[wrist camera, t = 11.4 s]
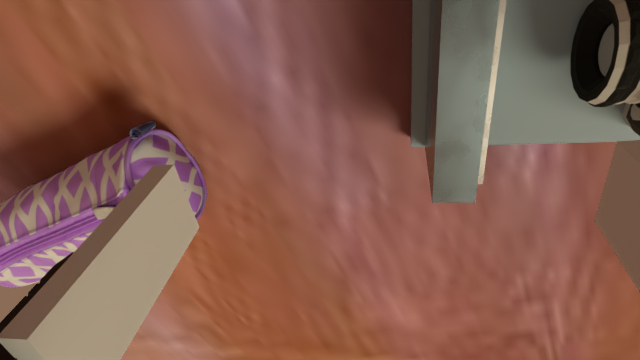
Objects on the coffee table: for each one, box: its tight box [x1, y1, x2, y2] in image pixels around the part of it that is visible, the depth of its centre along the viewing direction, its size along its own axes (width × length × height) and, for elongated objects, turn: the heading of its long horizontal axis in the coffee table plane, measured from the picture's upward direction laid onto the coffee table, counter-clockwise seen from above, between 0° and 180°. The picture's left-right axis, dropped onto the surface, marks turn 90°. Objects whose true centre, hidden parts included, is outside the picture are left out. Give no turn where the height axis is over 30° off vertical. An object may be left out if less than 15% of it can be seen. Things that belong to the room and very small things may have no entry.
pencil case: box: [0, 121, 207, 287], centre depth 36 cm, size 22×9×10 cm, turn 119°
